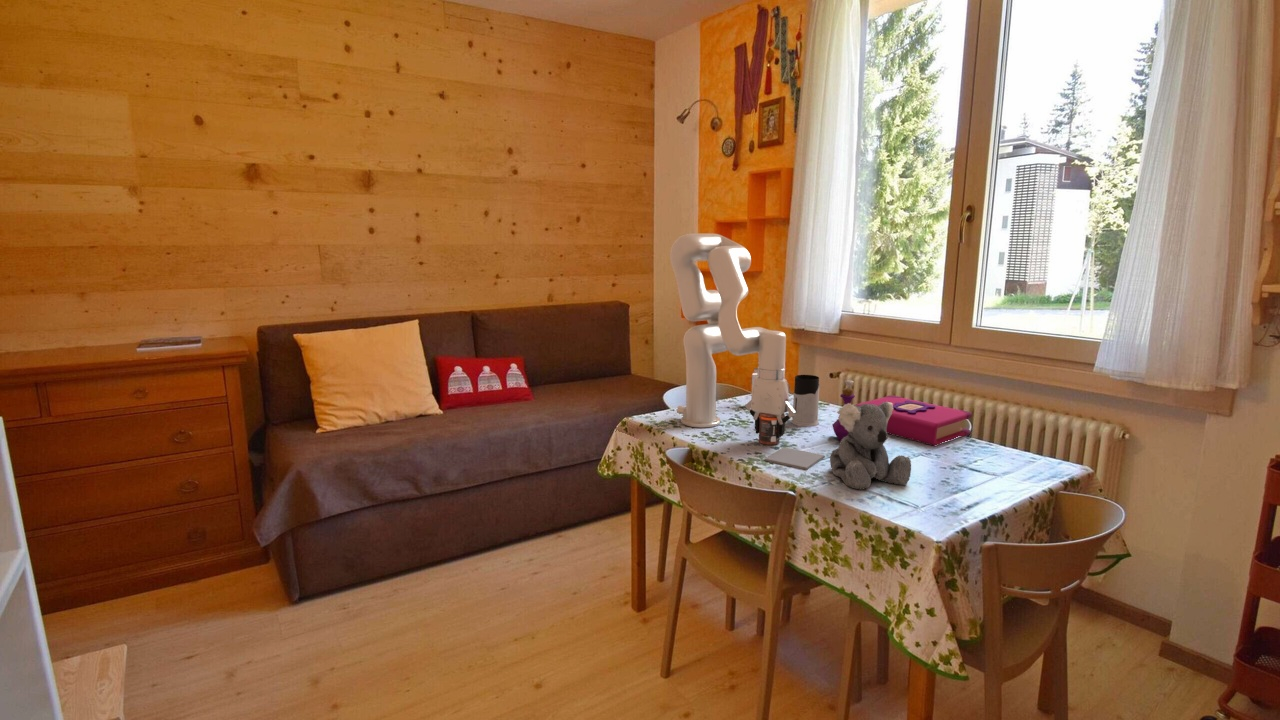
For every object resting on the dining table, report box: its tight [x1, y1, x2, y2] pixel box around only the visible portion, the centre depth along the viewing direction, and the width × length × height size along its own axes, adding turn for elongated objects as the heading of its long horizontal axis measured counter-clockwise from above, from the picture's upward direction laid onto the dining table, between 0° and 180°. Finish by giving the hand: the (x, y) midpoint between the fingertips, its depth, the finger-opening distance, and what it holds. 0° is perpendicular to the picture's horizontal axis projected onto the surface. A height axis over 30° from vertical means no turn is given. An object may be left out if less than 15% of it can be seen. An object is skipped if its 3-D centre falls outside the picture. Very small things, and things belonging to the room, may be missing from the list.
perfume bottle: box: [831, 380, 856, 442], centre depth 195 cm, size 8×8×18 cm
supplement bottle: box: [758, 413, 781, 446], centre depth 193 cm, size 6×6×11 cm
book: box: [855, 394, 973, 446], centre depth 206 cm, size 21×28×8 cm
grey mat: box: [764, 446, 826, 471], centre depth 180 cm, size 12×12×1 cm
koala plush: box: [829, 402, 912, 490], centre depth 166 cm, size 17×18×20 cm
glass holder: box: [787, 374, 820, 428], centre depth 213 cm, size 9×14×15 cm, turn 89°
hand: (769, 433), depth 194 cm, fingers closed on supplement bottle, 6 cm apart
